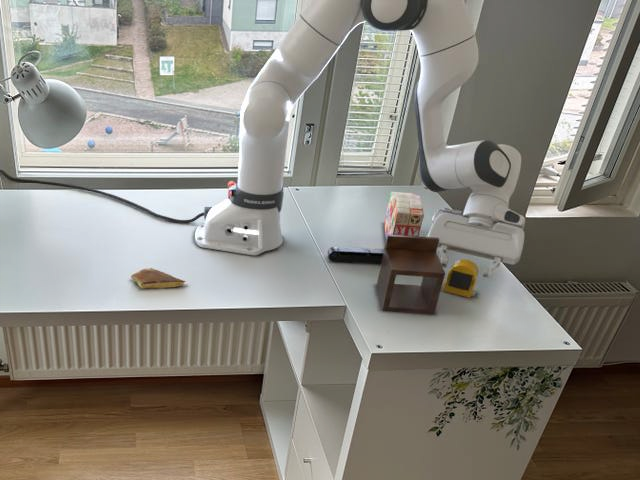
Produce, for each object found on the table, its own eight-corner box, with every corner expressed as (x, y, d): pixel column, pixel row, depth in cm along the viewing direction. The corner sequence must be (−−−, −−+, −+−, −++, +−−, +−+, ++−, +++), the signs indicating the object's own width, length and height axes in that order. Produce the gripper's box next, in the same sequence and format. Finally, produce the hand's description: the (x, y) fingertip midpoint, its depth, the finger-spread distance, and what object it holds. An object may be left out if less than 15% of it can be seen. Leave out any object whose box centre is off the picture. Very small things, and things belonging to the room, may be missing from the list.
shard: (185, 286, 157) (185, 279, 156) (163, 299, 152) (164, 292, 151) (149, 272, 162) (149, 265, 161) (127, 284, 158) (127, 276, 156)
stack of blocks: (383, 223, 188) (392, 180, 181) (407, 225, 187) (417, 182, 180) (387, 258, 171) (397, 211, 164) (413, 260, 170) (424, 214, 163)
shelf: (382, 310, 150) (394, 256, 143) (376, 286, 159) (387, 234, 152) (434, 314, 149) (449, 260, 142) (425, 289, 158) (438, 237, 151)
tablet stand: (327, 261, 169) (329, 250, 167) (326, 257, 171) (328, 246, 169) (401, 265, 168) (404, 254, 166) (399, 260, 170) (402, 249, 168)
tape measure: (442, 291, 158) (450, 263, 154) (446, 284, 161) (454, 256, 157) (472, 299, 155) (481, 270, 151) (476, 291, 158) (484, 263, 154)
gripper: (437, 200, 158) (417, 255, 156) (533, 219, 150) (513, 277, 148) (436, 212, 164) (417, 265, 162) (529, 231, 156) (510, 287, 154)
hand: (464, 271), depth 155 cm, fingers open, 8 cm apart
